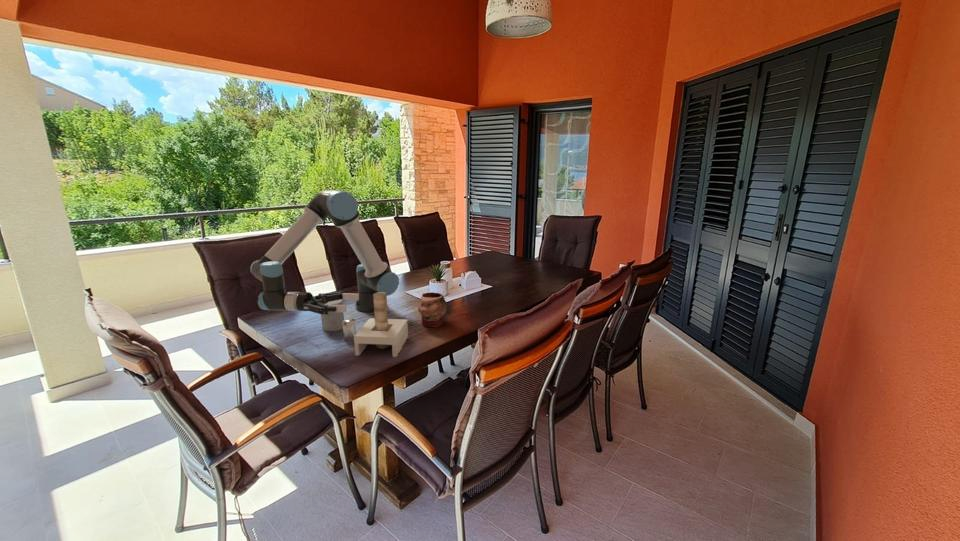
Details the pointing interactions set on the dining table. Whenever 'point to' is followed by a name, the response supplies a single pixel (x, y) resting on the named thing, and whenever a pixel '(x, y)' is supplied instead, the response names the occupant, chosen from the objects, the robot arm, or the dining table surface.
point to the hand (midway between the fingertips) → (352, 302)
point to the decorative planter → (432, 309)
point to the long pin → (380, 314)
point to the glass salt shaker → (349, 329)
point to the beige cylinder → (332, 318)
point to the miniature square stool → (382, 335)
